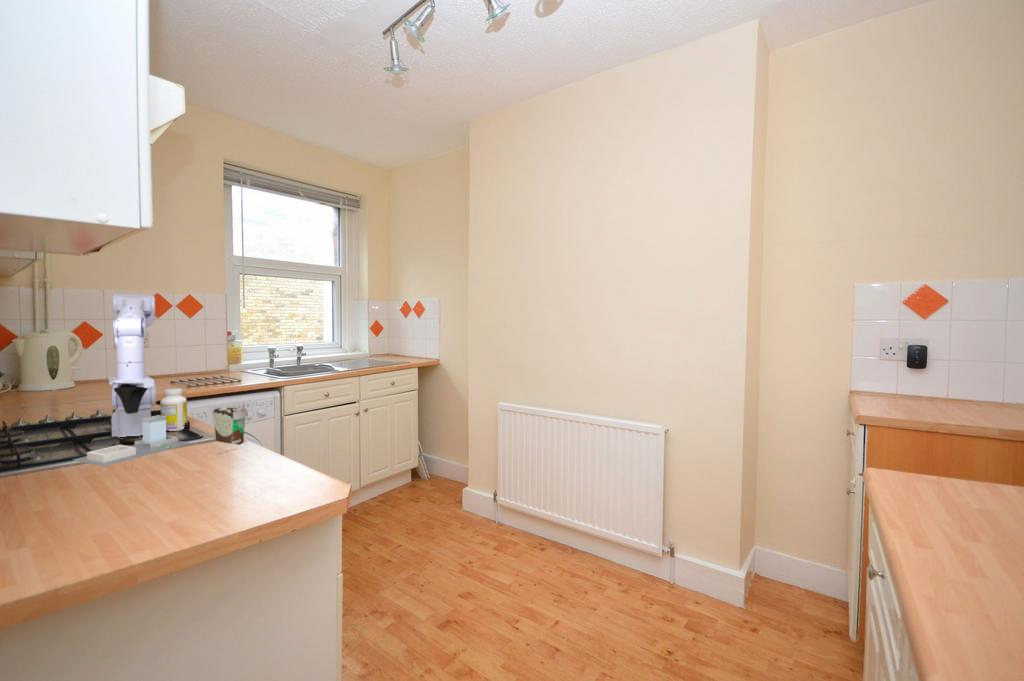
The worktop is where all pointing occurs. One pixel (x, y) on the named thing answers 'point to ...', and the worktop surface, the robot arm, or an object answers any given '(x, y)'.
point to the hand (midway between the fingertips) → (131, 413)
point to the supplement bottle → (174, 409)
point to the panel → (138, 454)
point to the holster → (111, 453)
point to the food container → (229, 423)
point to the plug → (154, 428)
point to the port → (157, 443)
